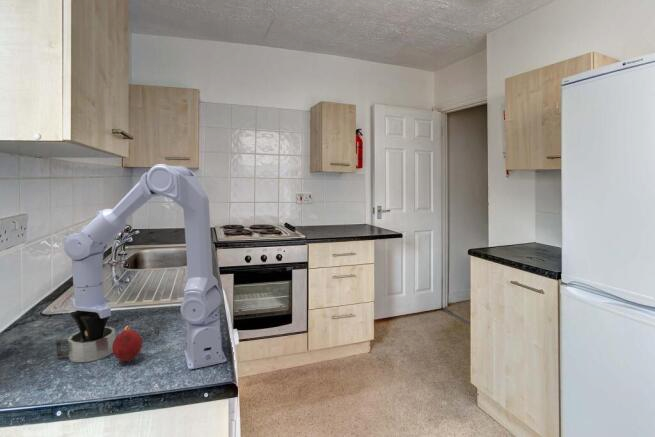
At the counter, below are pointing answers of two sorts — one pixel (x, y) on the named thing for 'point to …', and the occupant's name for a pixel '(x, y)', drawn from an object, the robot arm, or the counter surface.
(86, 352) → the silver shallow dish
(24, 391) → the counter surface
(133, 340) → the onion
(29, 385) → the counter surface
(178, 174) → the robot arm
